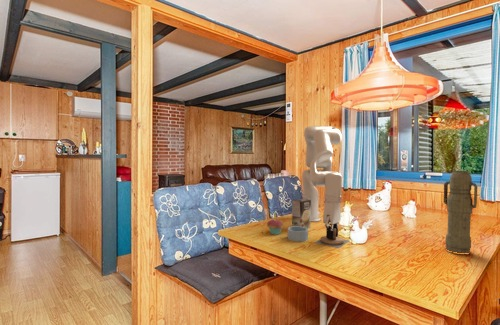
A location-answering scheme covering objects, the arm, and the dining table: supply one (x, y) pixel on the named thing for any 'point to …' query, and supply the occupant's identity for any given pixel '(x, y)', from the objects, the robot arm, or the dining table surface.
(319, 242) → the mat
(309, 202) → the coffee box
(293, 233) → the bowl
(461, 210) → the thermos
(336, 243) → the lid
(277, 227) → the cupcake
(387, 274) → the dining table surface
